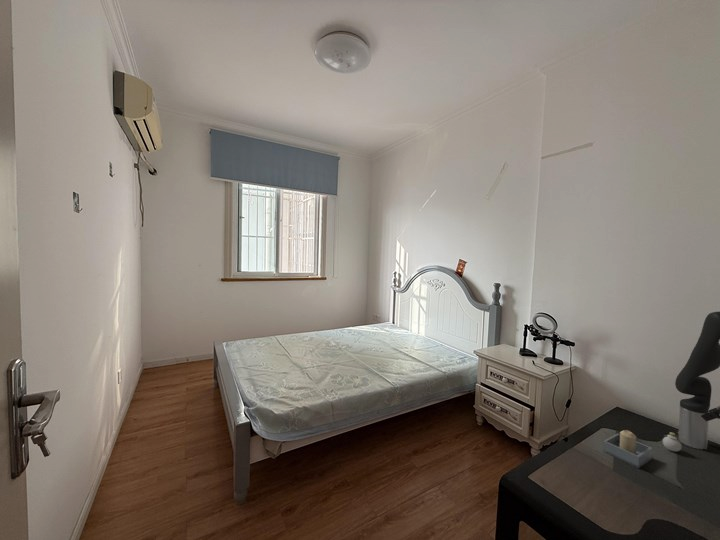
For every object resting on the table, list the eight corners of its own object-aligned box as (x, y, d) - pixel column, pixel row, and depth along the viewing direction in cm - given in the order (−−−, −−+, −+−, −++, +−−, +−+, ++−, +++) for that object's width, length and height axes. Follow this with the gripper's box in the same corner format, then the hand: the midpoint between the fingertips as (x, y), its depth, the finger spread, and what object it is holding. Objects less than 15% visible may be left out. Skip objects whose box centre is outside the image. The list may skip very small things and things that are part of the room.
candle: (639, 458, 129) (639, 435, 129) (624, 456, 130) (625, 434, 130) (630, 450, 135) (631, 428, 135) (616, 448, 136) (617, 427, 136)
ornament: (664, 444, 141) (664, 424, 141) (686, 452, 135) (687, 431, 135) (661, 449, 138) (661, 428, 137) (684, 457, 131) (685, 435, 131)
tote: (617, 443, 141) (617, 433, 141) (652, 459, 130) (652, 448, 130) (602, 451, 135) (603, 440, 135) (638, 468, 124) (638, 457, 124)
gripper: (751, 384, 108) (703, 402, 118) (740, 392, 101) (690, 410, 112) (775, 405, 103) (723, 421, 114) (765, 414, 97) (711, 430, 107)
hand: (707, 415), depth 113 cm, fingers open, 8 cm apart
